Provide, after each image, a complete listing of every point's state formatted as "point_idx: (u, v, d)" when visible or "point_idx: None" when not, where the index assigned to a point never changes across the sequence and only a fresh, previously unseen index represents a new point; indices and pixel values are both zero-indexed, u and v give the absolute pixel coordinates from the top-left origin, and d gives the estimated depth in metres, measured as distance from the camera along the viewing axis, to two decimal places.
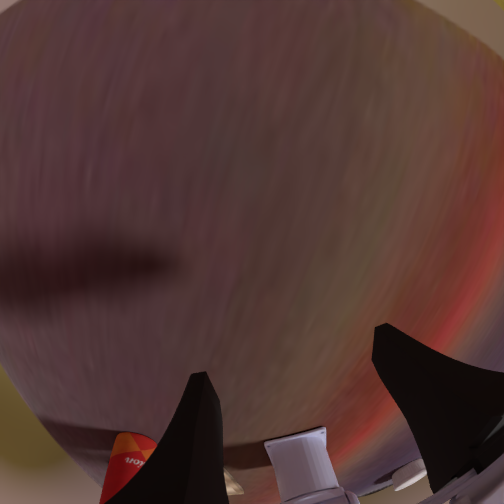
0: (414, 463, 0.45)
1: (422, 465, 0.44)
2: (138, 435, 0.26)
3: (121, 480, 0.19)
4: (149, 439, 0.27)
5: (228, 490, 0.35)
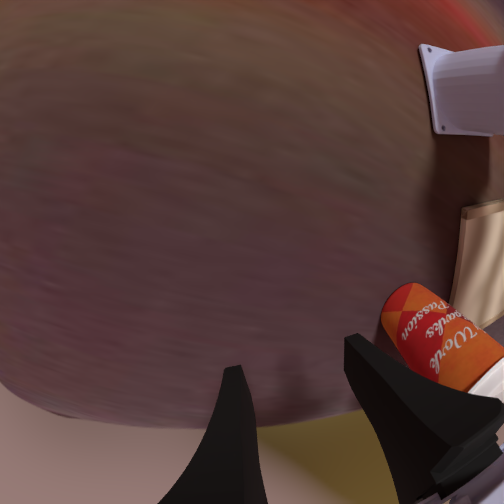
0: None
1: None
2: (387, 302, 0.23)
3: (419, 363, 0.17)
4: (398, 290, 0.23)
5: None
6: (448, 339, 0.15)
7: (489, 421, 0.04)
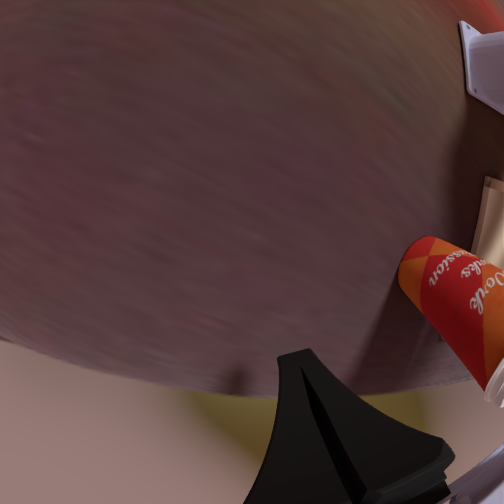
0: None
1: None
2: (409, 250, 0.20)
3: (455, 307, 0.14)
4: (421, 239, 0.20)
5: None
6: (489, 277, 0.12)
7: (421, 466, 0.04)
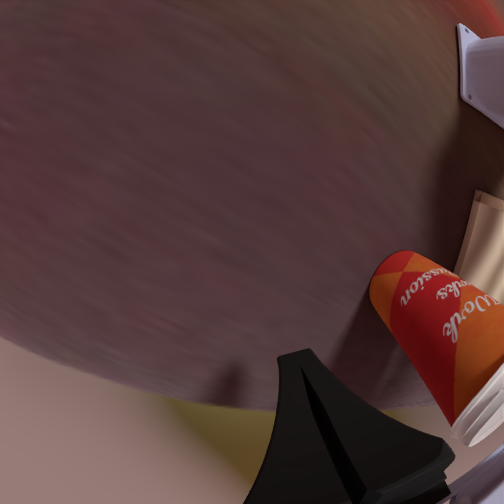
0: None
1: None
2: (382, 264, 0.19)
3: (426, 332, 0.13)
4: (397, 253, 0.19)
5: None
6: (468, 301, 0.11)
7: (421, 466, 0.04)
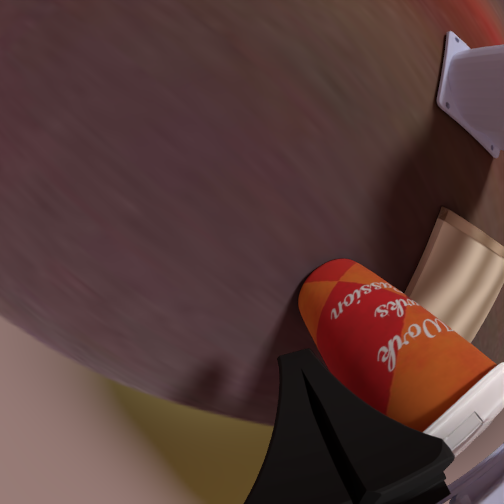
0: None
1: None
2: (316, 271, 0.18)
3: (356, 354, 0.12)
4: (336, 260, 0.18)
5: (499, 266, 0.21)
6: (413, 324, 0.11)
7: (421, 467, 0.04)
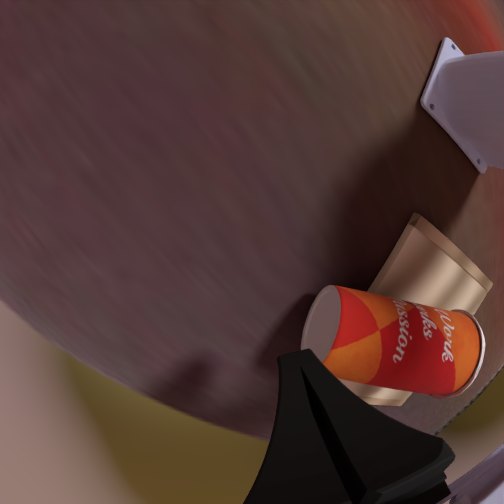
0: None
1: None
2: (342, 331, 0.14)
3: (428, 368, 0.14)
4: (345, 305, 0.15)
5: (474, 291, 0.21)
6: (443, 327, 0.15)
7: (421, 467, 0.04)
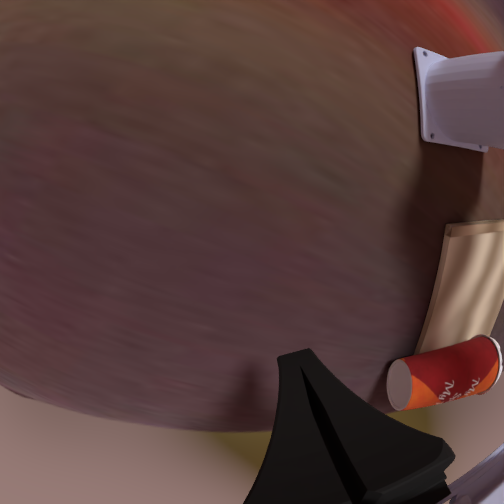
0: None
1: None
2: None
3: None
4: (396, 408, 0.23)
5: None
6: None
7: (421, 467, 0.04)
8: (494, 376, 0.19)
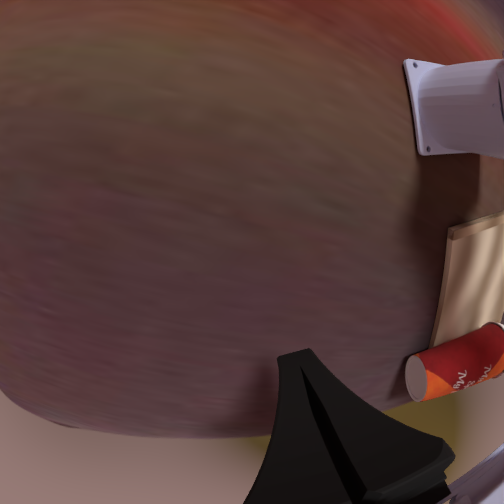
0: None
1: None
2: None
3: None
4: None
5: None
6: None
7: (421, 466, 0.04)
8: None
